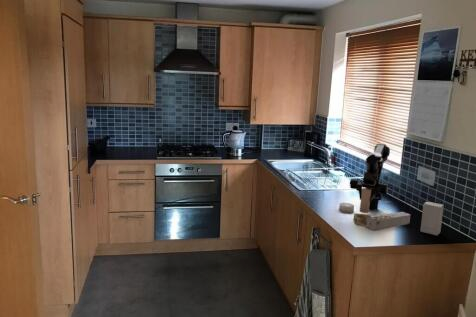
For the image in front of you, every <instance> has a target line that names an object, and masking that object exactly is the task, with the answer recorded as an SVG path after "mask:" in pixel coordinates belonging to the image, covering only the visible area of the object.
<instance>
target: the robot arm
mask: <svg viewBox="0 0 476 317" xmlns="http://www.w3.org/2000/svg"><path fill="white" fill-rule="evenodd" d="M390 153H391V149H390V147H389V146H387V144H385V143H381V142H380V143H379V142H377V143H376V145H375V146H374V150H373V152H371V153H370V154H369V155H368V156H367V157H366V158H365V164H366V165H365V166H366V172H364V173H363V178H362V179H363V180H362V182H361V181H359V179H354V178H351V179H350V180H349V188H350V189H353V190H356V191H358V195H359V196H358V197H359V201H361V194H362V188H368V189H371V197H370V206H369V211H379V202H380V201H382V199H383V195H387V194H388V190H389V189H388V188H389V187H388V184H386V183H380V181H381V176H382V171H383V167H384V163H385V162H386V161H387V160H388V158H389V157H390V155H391V154H390Z"/></svg>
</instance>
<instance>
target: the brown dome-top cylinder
mask: <svg viewBox="0 0 476 317" xmlns="http://www.w3.org/2000/svg"><path fill="white" fill-rule="evenodd" d="M370 197H371V189H368V188H365V187H362V194H361V200H360V205H359V212H360V213H361V214H368V213H369V212H370V210H369V206H370Z"/></svg>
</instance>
